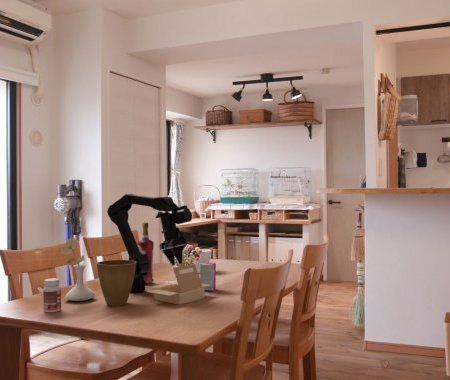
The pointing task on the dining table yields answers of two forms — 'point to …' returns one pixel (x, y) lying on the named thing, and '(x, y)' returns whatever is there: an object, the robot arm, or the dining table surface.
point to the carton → (176, 293)
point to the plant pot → (116, 280)
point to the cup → (203, 258)
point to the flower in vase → (79, 290)
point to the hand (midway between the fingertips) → (177, 264)
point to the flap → (187, 277)
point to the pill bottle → (52, 295)
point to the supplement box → (208, 275)
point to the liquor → (147, 252)
